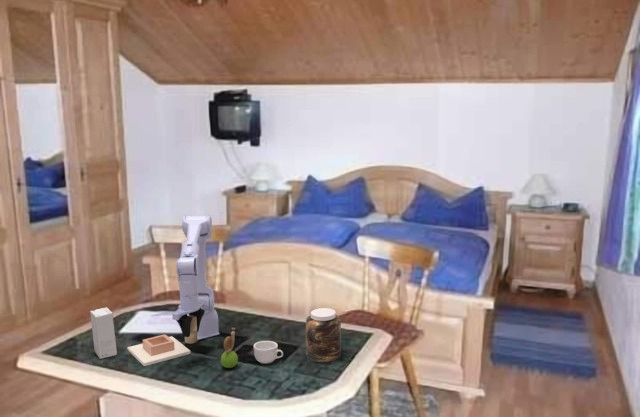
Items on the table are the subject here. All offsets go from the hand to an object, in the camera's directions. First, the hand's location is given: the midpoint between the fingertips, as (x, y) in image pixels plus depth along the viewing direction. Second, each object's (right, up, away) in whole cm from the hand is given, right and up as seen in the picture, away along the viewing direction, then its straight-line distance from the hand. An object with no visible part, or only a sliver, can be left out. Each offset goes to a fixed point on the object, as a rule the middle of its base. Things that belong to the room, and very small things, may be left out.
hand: (190, 333), depth 187 cm
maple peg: (0, -2, 0) cm, 2 cm away
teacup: (+25, -9, +1) cm, 27 cm away
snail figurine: (+13, -10, -3) cm, 17 cm away
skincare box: (-31, -9, +8) cm, 33 cm away
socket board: (-13, -8, +9) cm, 18 cm away
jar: (+43, -9, +6) cm, 44 cm away
